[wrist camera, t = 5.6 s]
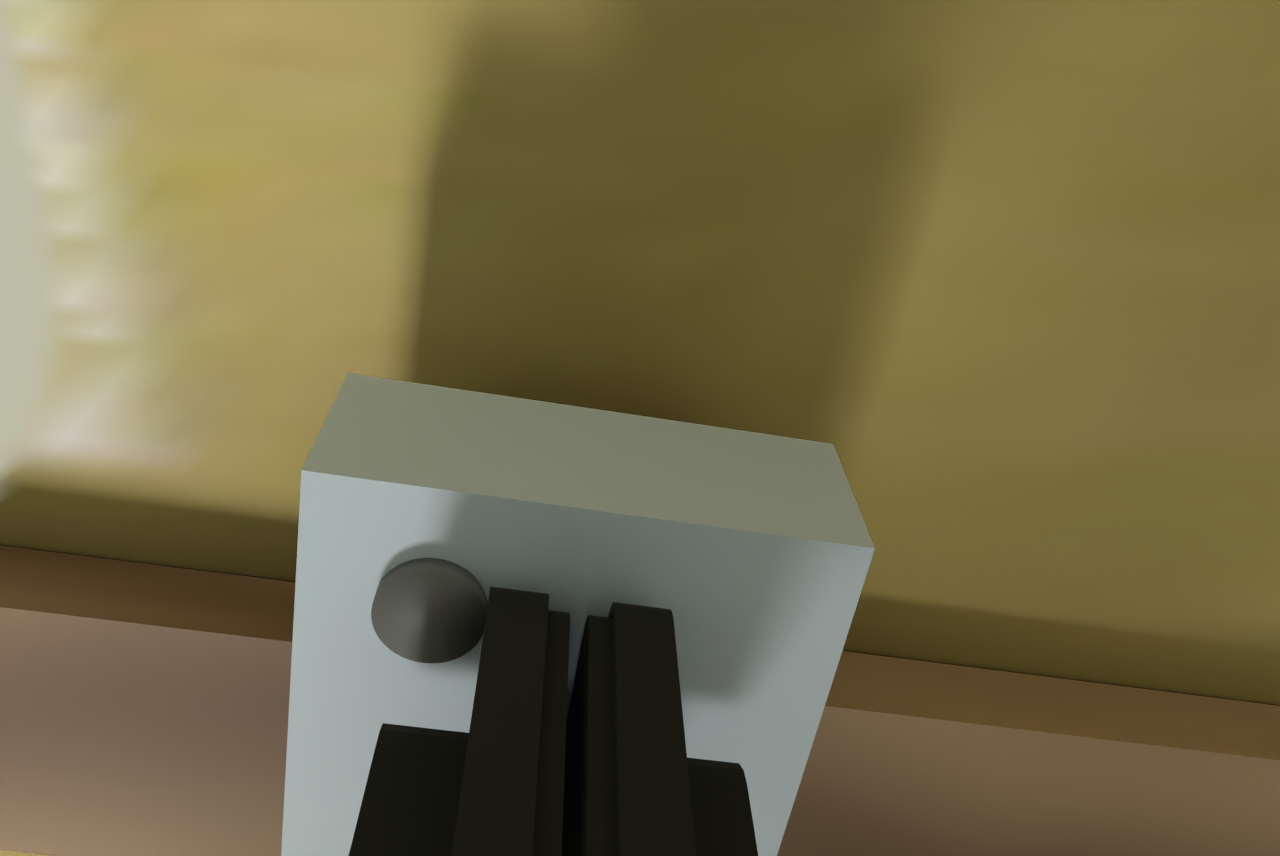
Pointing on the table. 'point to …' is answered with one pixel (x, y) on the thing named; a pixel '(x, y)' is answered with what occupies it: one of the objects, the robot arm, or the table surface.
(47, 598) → the tile board
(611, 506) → the tile three
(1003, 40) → the table surface
